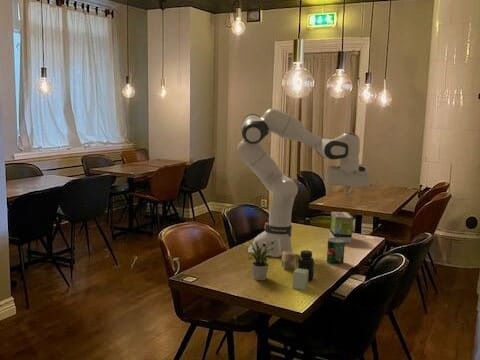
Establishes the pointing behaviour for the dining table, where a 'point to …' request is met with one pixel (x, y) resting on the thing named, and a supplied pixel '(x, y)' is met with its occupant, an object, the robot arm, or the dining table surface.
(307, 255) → the supplement bottle
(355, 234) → the dining table surface
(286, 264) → the oak block
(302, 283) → the sage block
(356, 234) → the dining table surface
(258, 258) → the house plant
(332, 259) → the canned tomato
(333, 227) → the tea box
